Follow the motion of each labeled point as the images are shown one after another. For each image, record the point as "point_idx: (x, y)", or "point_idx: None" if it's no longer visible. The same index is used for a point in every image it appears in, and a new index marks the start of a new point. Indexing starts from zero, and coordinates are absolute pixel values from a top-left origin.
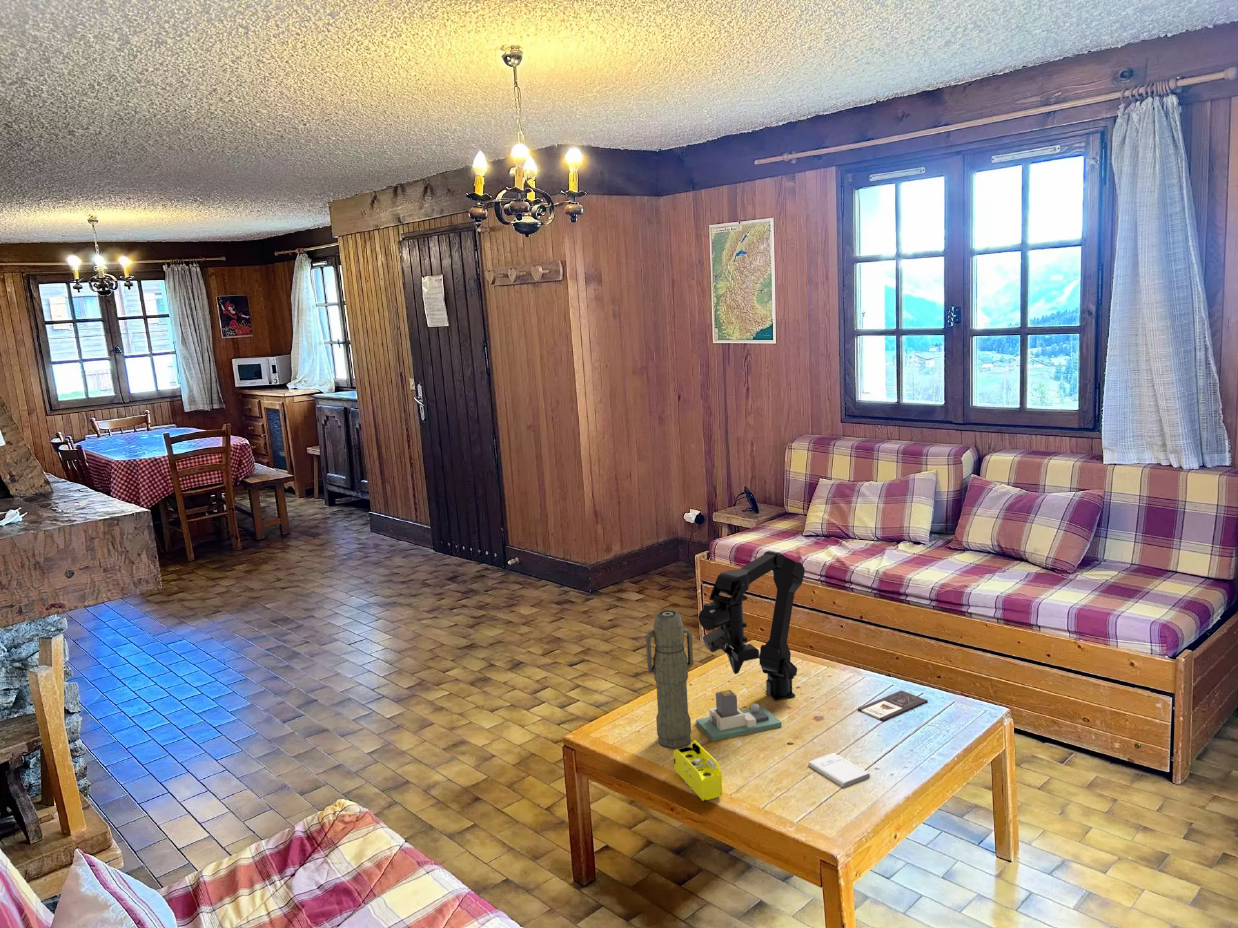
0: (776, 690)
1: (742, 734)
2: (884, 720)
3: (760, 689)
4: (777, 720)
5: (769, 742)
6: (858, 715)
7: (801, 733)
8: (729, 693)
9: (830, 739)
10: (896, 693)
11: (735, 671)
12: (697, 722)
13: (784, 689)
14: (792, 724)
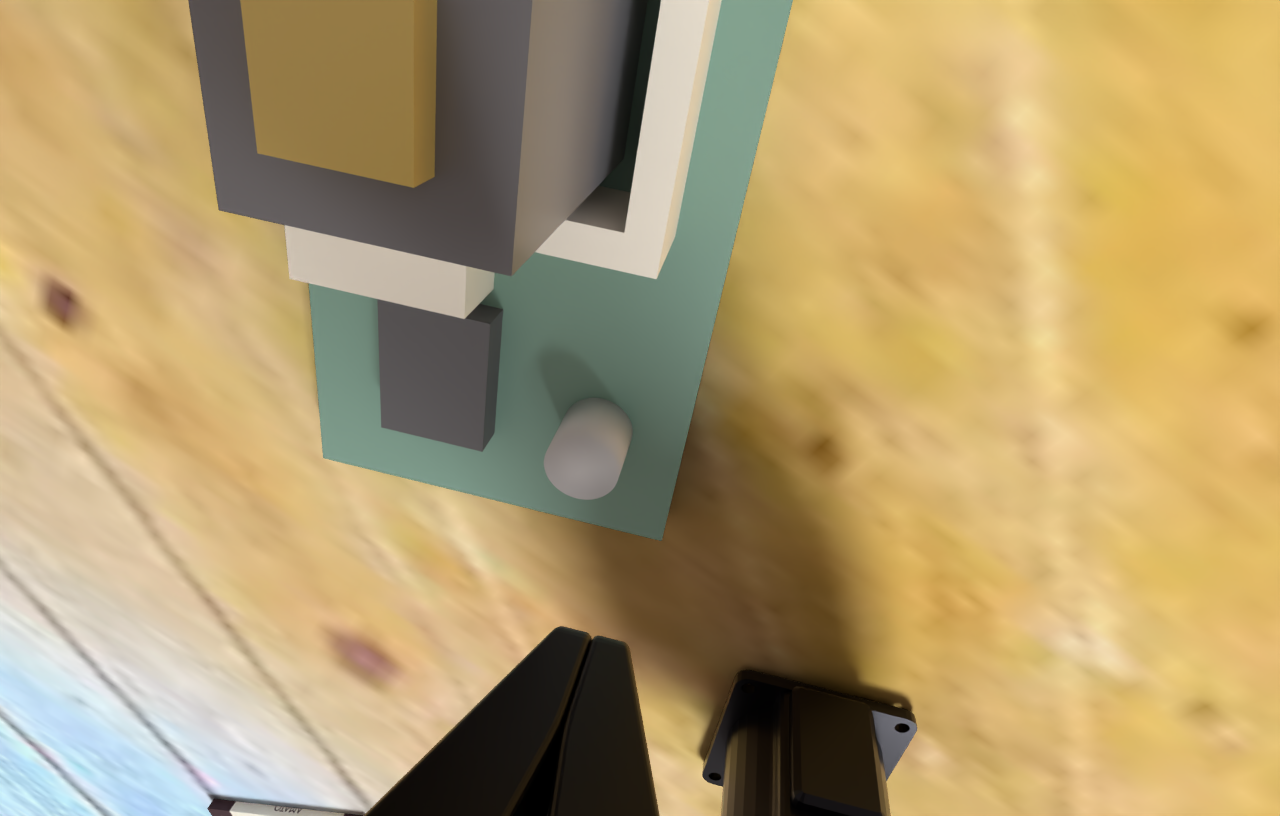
0: (766, 751)
1: None
2: (212, 804)
3: (989, 720)
4: (362, 454)
5: (106, 181)
6: (311, 783)
7: (194, 463)
8: (260, 113)
9: (74, 528)
10: None
11: (514, 679)
12: None
13: (724, 785)
14: (343, 507)
